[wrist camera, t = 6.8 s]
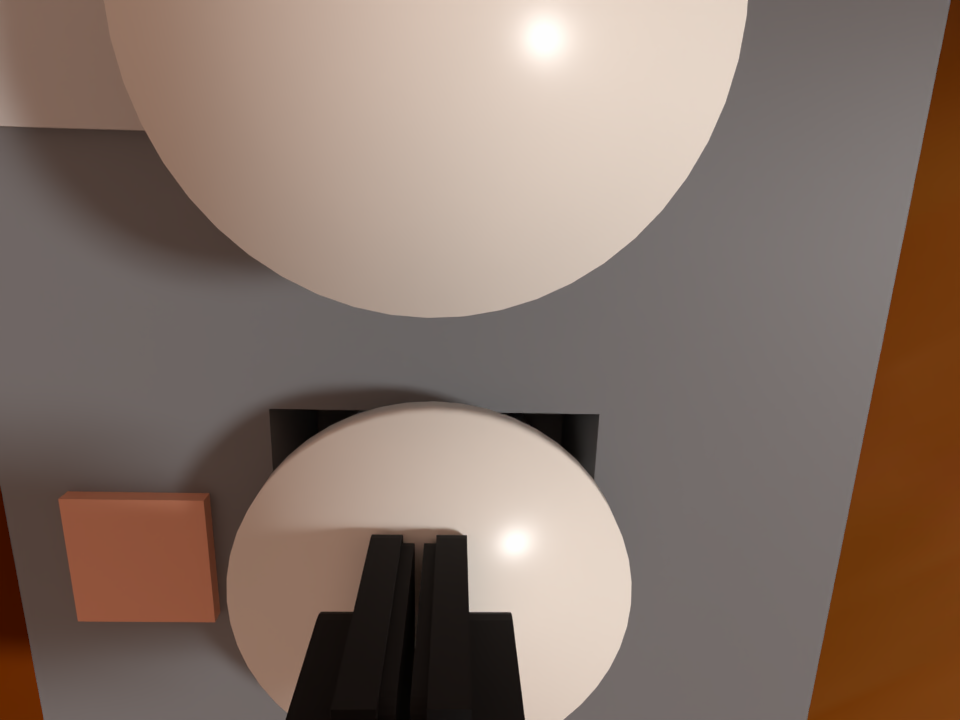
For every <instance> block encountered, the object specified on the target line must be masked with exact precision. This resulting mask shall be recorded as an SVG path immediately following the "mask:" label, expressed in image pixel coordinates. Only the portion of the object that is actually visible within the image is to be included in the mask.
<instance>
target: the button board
mask: <svg viewBox="0 0 960 720" xmlns="http://www.w3.org/2000/svg"><path fill="white" fill-rule="evenodd" d="M950 1H951V0H748V5H747V17H746V22H745V28H744V33H743V39H742V44H741V50H740V55H739V60H738V63H737V67H736V70H735V73H734V76H733V80H732V83H731V86H730V90H729V93H728V96H727V99H726V102H725V105H724V107H723V109H722V112H721V114H720V116H719V118H718V121H717V123H716V125H715V127H714V130H713V132H712V134H711V137H710V139H709V141H708V143H707V145H706V146H705V148H704V150H703V151H702V153H701V155H700V157H699V158H698V160H697V162H696V163H695V165H694V167H693V168H692V170H691V172H690V174H689V175H688V177H687V178H686V180H685V181H684V182H683V184H682V185H681V186H680V188H679V189H678V190H677V192H676V193H675V194H674V196H673V197H672V198H671V199H670V201H669V202H668V203H667V205H666V206H665V207H664V209H663V210H662V211H661V212H660V213H659V214H658V215H657V216H656V217H655V218H654V219H653V220H652V221H651V222H650V223H649V224H648V225H647V227H646V228H645V229H644V230H643V231H642V232H641V233H640V234H639V235H638V236H637V237H636V238H635V239H634V240H632V241H631V242H630V243H629V244H628V245H626V246H625V247H624V248H623V249H621V250H620V251H619V252H618V253H616V254H615V255H614V256H613V257H611V258H610V259H609V260H608V261H606V262H605V263H604V264H602V265H601V266H599V267H597V268H596V269H594V270H592V271H591V272H589V273H588V274H586V275H584V276H583V277H581V278H579V279H578V280H576V281H575V282H573V283H571V284H569V285H567V286H565V287H563V288H560V289H558V290H556V291H554V292H551V293H549V294H547V295H545V296H543V297H540V298H538V299H536V300H532V301H529V302H526V303H523V304H519V305H516V306H513V307H510V308H506V309H503V310H499V311H493V312H487V313H481V314H476V315H470V316H462V317H438V318H422V317H411V316H399V315H389V314H384V313H380V312H375V311H370V310H366V309H361V308H357V307H352V306H350V305H347V304H344V303H341V302H338V301H335V300H332V299H330V298H327V297H324V296H321V295H318V294H316V293H314V292H312V291H310V290H308V289H306V288H304V287H302V286H300V285H298V284H296V283H294V282H292V281H290V280H288V279H286V278H284V277H282V276H280V275H279V274H277V273H276V272H274V271H273V270H271V269H270V268H268V267H267V266H265V265H264V264H262V263H261V262H259V261H257V260H256V259H254V258H253V257H251V256H250V255H248V254H247V253H246V252H245V251H244V250H243V249H241V248H240V247H239V246H238V245H237V244H235V243H234V242H233V241H232V240H231V239H230V238H228V237H227V236H226V235H225V234H224V233H222V232H221V231H220V230H219V229H218V228H217V227H216V226H215V225H214V224H213V223H212V222H211V221H210V220H209V219H208V218H207V217H206V215H205V214H204V213H203V212H202V211H201V210H200V209H199V208H198V207H197V206H196V205H195V204H194V203H193V202H192V200H191V199H190V198H189V197H188V196H187V194H186V193H185V192H184V190H183V189H182V188H181V186H180V185H179V184H178V182H177V181H176V179H175V178H174V177H173V175H172V174H171V173H170V171H169V170H168V169H167V167H166V166H165V165H164V163H163V161H162V160H161V158H160V156H159V154H158V153H157V151H156V149H155V147H154V146H153V144H152V142H151V140H150V139H149V137H148V135H147V133H146V132H145V130H144V128H143V126H142V125H141V122H140V120H139V118H138V115H137V113H136V111H135V108H134V106H133V104H132V101H131V99H130V97H129V94H128V92H127V90H126V87H125V85H124V83H123V79H122V76H121V73H120V69H119V66H118V63H117V59H116V56H115V52H114V49H113V46H112V42H111V39H110V34H109V28H108V22H107V17H106V11H105V5H104V0H0V486H1V492H2V497H3V502H4V508H5V513H6V518H7V524H8V529H9V535H10V540H11V545H12V551H13V556H14V561H15V567H16V572H17V578H18V583H19V588H20V594H21V599H22V604H23V610H24V615H25V621H26V626H27V631H28V637H29V642H30V647H31V653H32V658H33V664H34V669H35V674H36V680H37V685H38V690H39V696H40V701H41V707H42V712H43V717H44V720H285V719H286V716H287V712H286V711H284V710H283V709H282V708H281V707H280V706H279V705H278V704H276V703H275V701H274V700H273V699H272V698H271V697H270V696H269V695H268V694H267V692H266V691H265V690H264V689H263V688H262V687H261V686H260V684H259V683H258V681H257V680H256V678H255V677H254V675H253V674H252V672H251V671H250V669H249V668H248V666H247V664H246V662H245V660H244V658H243V656H242V654H241V652H240V650H239V648H238V646H237V643H236V640H235V636H234V633H233V630H232V627H231V624H230V618H229V612H228V606H227V572H228V565H229V558H230V553H231V550H232V547H233V544H234V540H235V537H236V534H237V531H238V529H239V527H240V525H241V523H242V521H243V519H244V517H245V515H246V513H247V511H248V509H249V507H250V506H251V504H252V502H253V501H254V499H255V498H256V496H257V494H258V493H259V491H260V490H261V488H262V487H263V485H264V484H265V483H266V481H267V480H268V478H269V477H270V475H271V474H272V473H273V471H274V470H275V469H276V468H277V467H278V466H279V465H280V464H281V463H282V462H283V461H284V460H285V458H286V457H287V456H288V455H289V454H291V453H292V452H293V451H294V450H295V449H297V448H298V447H299V446H300V445H302V444H303V443H304V442H305V441H306V440H308V439H309V438H311V437H312V436H314V435H316V434H317V433H319V432H320V431H322V430H324V429H325V428H327V427H329V426H330V425H333V424H335V423H337V422H339V421H341V420H344V419H346V418H348V417H350V416H353V415H355V414H357V413H358V411H359V410H372V409H375V408H378V407H383V406H389V405H395V404H401V403H407V402H429V401H437V402H449V403H462V404H466V405H471V406H476V407H481V408H486V409H490V410H493V411H495V412H498V413H522V414H523V415H524V417H525V418H526V420H527V421H528V423H529V425H530V426H531V427H534V428H536V429H537V430H539V431H540V432H542V433H543V434H545V435H546V436H548V437H549V438H551V439H552V440H554V441H555V442H557V443H558V444H559V445H561V446H562V447H563V448H564V449H565V450H566V451H567V452H569V453H570V454H571V455H572V456H573V457H574V458H575V459H577V461H578V462H579V463H580V464H581V465H582V466H583V468H584V469H585V470H586V471H587V472H588V473H589V474H590V476H591V477H592V478H593V479H594V481H595V483H596V484H597V486H598V487H599V489H600V490H601V492H602V494H603V495H604V497H605V498H606V501H607V503H608V505H609V507H610V509H611V512H612V514H613V516H614V518H615V521H616V523H617V525H618V528H619V530H620V532H621V535H622V537H623V540H624V544H625V548H626V551H627V555H628V558H629V565H630V573H631V581H632V584H631V607H630V613H629V618H628V624H627V628H626V631H625V634H624V637H623V640H622V643H621V646H620V649H619V651H618V653H617V655H616V657H615V659H614V661H613V663H612V665H611V667H610V668H609V670H608V671H607V673H606V674H605V676H604V677H603V679H602V680H601V682H600V683H599V685H598V686H597V687H596V688H595V690H594V691H593V692H592V693H591V694H590V695H589V696H588V697H587V698H586V700H585V701H584V702H583V703H582V704H581V705H580V706H579V707H578V708H576V709H575V710H574V711H573V712H572V713H571V714H569V715H568V716H567V717H566V718H565V719H564V720H807V717H808V712H809V707H810V702H811V697H812V692H813V687H814V682H815V677H816V672H817V667H818V662H819V657H820V652H821V647H822V642H823V637H824V632H825V627H826V622H827V617H828V611H829V606H830V601H831V596H832V591H833V586H834V581H835V576H836V571H837V566H838V561H839V556H840V551H841V546H842V541H843V536H844V531H845V526H846V521H847V516H848V511H849V506H850V501H851V496H852V491H853V486H854V481H855V476H856V471H857V466H858V461H859V456H860V451H861V446H862V441H863V436H864V431H865V426H866V421H867V416H868V411H869V406H870V401H871V396H872V391H873V386H874V381H875V376H876V371H877V366H878V361H879V356H880V351H881V346H882V341H883V336H884V331H885V326H886V321H887V316H888V311H889V306H890V301H891V296H892V291H893V286H894V281H895V276H896V271H897V266H898V261H899V256H900V251H901V246H902V241H903V236H904V231H905V226H906V221H907V216H908V211H909V206H910V201H911V196H912V191H913V186H914V181H915V176H916V171H917V166H918V161H919V156H920V151H921V146H922V141H923V136H924V131H925V126H926V121H927V116H928V111H929V106H930V101H931V96H932V91H933V86H934V81H935V76H936V71H937V66H938V61H939V56H940V51H941V46H942V41H943V36H944V31H945V26H946V21H947V16H948V11H949V6H950Z"/></svg>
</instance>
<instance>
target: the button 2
mask: <svg viewBox="0 0 960 720" xmlns="http://www.w3.org/2000/svg"><path fill="white" fill-rule="evenodd" d="M372 534H386V535H403V543H414V544H415V641H416V630H417V618H418V607H419V595H420V584H421V572H422V561H423V550H424V543H436V535H467V555H468V592H469V612H511V614H512V619H513V626H514V634H515V642H516V650H517V658H518V667H519V675H520V683H521V691H522V699H523V707H524V715H525V720H564V719H565V718H566V717H567V716H568V715H569V714H571V713H572V712H573V711H574V710H575V709H576V708H578V707H579V706H580V705H581V704H582V703H583V702H584V701H585V700H586V698H587V697H588V696H589V695H590V694H591V693H592V692H593V691H594V690H595V688H596V687H597V686H598V685H599V683H600V682H601V680H602V679H603V677H604V676H605V674H606V673H607V671H608V670H609V668H610V667H611V665H612V663H613V661H614V659H615V657H616V655H617V653H618V651H619V649H620V646H621V643H622V640H623V637H624V634H625V631H626V628H627V624H628V618H629V613H630V607H631V584H632V581H631V573H630V565H629V558H628V555H627V551H626V548H625V544H624V540H623V537H622V535H621V532H620V530H619V528H618V525H617V523H616V521H615V518H614V516H613V514H612V512H611V509H610V507H609V505H608V503H607V501H606V498H605V497H604V495H603V494H602V492H601V490H600V489H599V487H598V486H597V484H596V483H595V481H594V479H593V478H592V477H591V476H590V474H589V473H588V472H587V471H586V470H585V469H584V468H583V466H582V465H581V464H580V463H579V462H578V461H577V459H575V458H574V457H573V456H572V455H571V454H570V453H569V452H567V451H566V450H565V449H564V448H563V447H562V446H561V445H559V444H558V443H557V442H555V441H554V440H552V439H551V438H549V437H548V436H546V435H545V434H543V433H542V432H540V431H539V430H537V429H536V428H534V427H531V426H530V425H529V423H528V421H527V420H526V418H525V417H524V415H523V414H522V413H498V412H495V411H493V410H490V409H486V408H481V407H476V406H471V405H466V404H462V403H449V402H437V401H429V402H407V403H401V404H395V405H389V406H383V407H378V408H375V409H372V410H359V411H358V413H357V414H355V415H353V416H350V417H348V418H346V419H344V420H341V421H339V422H337V423H335V424H333V425H330V426H329V427H327V428H325V429H324V430H322V431H320V432H319V433H317V434H316V435H314V436H312V437H311V438H309V439H308V440H306V441H305V442H304V443H303V444H302V445H300V446H299V447H298V448H297V449H295V450H294V451H293V452H292V453H291V454H289V455H288V456H287V457H286V458H285V460H284V461H283V462H282V463H281V464H280V465H279V466H278V467H277V468H276V469H275V470H274V471H273V473H272V474H271V475H270V477H269V478H268V480H267V481H266V483H265V484H264V485H263V487H262V488H261V490H260V491H259V493H258V494H257V496H256V498H255V499H254V501H253V502H252V504H251V506H250V507H249V509H248V511H247V513H246V515H245V517H244V519H243V521H242V523H241V525H240V527H239V529H238V531H237V534H236V537H235V540H234V544H233V547H232V550H231V553H230V558H229V565H228V572H227V606H228V612H229V618H230V624H231V627H232V630H233V633H234V636H235V640H236V643H237V646H238V648H239V650H240V652H241V654H242V656H243V658H244V660H245V662H246V664H247V666H248V668H249V669H250V671H251V672H252V674H253V675H254V677H255V678H256V680H257V681H258V683H259V684H260V686H261V687H262V688H263V689H264V690H265V691H266V692H267V694H268V695H269V696H270V697H271V698H272V699H273V700H274V701H275V703H276V704H278V705H279V706H280V707H281V708H282V709H283V710H284V711H286V712H287V713H288V710H289V706H290V703H291V700H292V697H293V694H294V690H295V687H296V684H297V681H298V677H299V674H300V671H301V668H302V665H303V661H304V658H305V655H306V652H307V648H308V645H309V642H310V639H311V636H312V632H313V629H314V626H315V623H316V620H317V617H318V615H319V613H320V612H353V611H354V606H355V602H356V598H357V593H358V589H359V585H360V581H361V576H362V572H363V568H364V563H365V559H366V555H367V551H368V546H369V542H370V538H371V535H372Z"/></svg>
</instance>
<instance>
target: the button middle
mask: <svg viewBox="0 0 960 720" xmlns="http://www.w3.org/2000/svg"><path fill="white" fill-rule="evenodd" d="M104 5H105V11H106V17H107V22H108V28H109V34H110V39H111V42H112V46H113V49H114V52H115V56H116V59H117V63H118V66H119V69H120V73H121V76H122V79H123V83H124V85H125V87H126V90H127V92H128V94H129V97H130V99H131V101H132V104H133V106H134V108H135V111H136V113H137V115H138V118H139V120H140V122H141V125H142V126H143V128H144V130H145V132H146V133H147V135H148V137H149V139H150V140H151V142H152V144H153V146H154V147H155V149H156V151H157V153H158V154H159V156H160V158H161V160H162V161H163V163H164V165H165V166H166V167H167V169H168V170H169V171H170V173H171V174H172V175H173V177H174V178H175V179H176V181H177V182H178V184H179V185H180V186H181V188H182V189H183V190H184V192H185V193H186V194H187V196H188V197H189V198H190V199H191V200H192V202H193V203H194V204H195V205H196V206H197V207H198V208H199V209H200V210H201V211H202V212H203V213H204V214H205V215H206V217H207V218H208V219H209V220H210V221H211V222H212V223H213V224H214V225H215V226H216V227H217V228H218V229H219V230H220V231H221V232H222V233H224V234H225V235H226V236H227V237H228V238H230V239H231V240H232V241H233V242H234V243H235V244H237V245H238V246H239V247H240V248H241V249H243V250H244V251H245V252H246V253H247V254H248V255H250V256H251V257H253V258H254V259H256V260H257V261H259V262H261V263H262V264H264V265H265V266H267V267H268V268H270V269H271V270H273V271H274V272H276V273H277V274H279V275H280V276H282V277H284V278H286V279H288V280H290V281H292V282H294V283H296V284H298V285H300V286H302V287H304V288H306V289H308V290H310V291H312V292H314V293H316V294H318V295H321V296H324V297H327V298H330V299H332V300H335V301H338V302H341V303H344V304H347V305H350V306H352V307H357V308H361V309H366V310H370V311H375V312H380V313H384V314H389V315H399V316H411V317H422V318H438V317H462V316H470V315H476V314H481V313H487V312H493V311H499V310H503V309H506V308H510V307H513V306H516V305H519V304H523V303H526V302H529V301H532V300H536V299H538V298H540V297H543V296H545V295H547V294H549V293H551V292H554V291H556V290H558V289H560V288H563V287H565V286H567V285H569V284H571V283H573V282H575V281H576V280H578V279H579V278H581V277H583V276H584V275H586V274H588V273H589V272H591V271H592V270H594V269H596V268H597V267H599V266H601V265H602V264H604V263H605V262H606V261H608V260H609V259H610V258H611V257H613V256H614V255H615V254H616V253H618V252H619V251H620V250H621V249H623V248H624V247H625V246H626V245H628V244H629V243H630V242H631V241H632V240H634V239H635V238H636V237H637V236H638V235H639V234H640V233H641V232H642V231H643V230H644V229H645V228H646V227H647V225H648V224H649V223H650V222H651V221H652V220H653V219H654V218H655V217H656V216H657V215H658V214H659V213H660V212H661V211H662V210H663V209H664V207H665V206H666V205H667V203H668V202H669V201H670V199H671V198H672V197H673V196H674V194H675V193H676V192H677V190H678V189H679V188H680V186H681V185H682V184H683V182H684V181H685V180H686V178H687V177H688V175H689V174H690V172H691V170H692V168H693V167H694V165H695V163H696V162H697V160H698V158H699V157H700V155H701V153H702V151H703V150H704V148H705V146H706V145H707V143H708V141H709V139H710V137H711V134H712V132H713V130H714V127H715V125H716V123H717V121H718V118H719V116H720V114H721V112H722V109H723V107H724V105H725V102H726V99H727V96H728V93H729V90H730V86H731V83H732V80H733V76H734V73H735V70H736V67H737V63H738V60H739V55H740V50H741V44H742V39H743V33H744V28H745V22H746V17H747V5H748V0H104Z"/></svg>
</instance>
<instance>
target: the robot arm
mask: <svg viewBox="0 0 960 720" xmlns="http://www.w3.org/2000/svg"><path fill="white" fill-rule="evenodd" d="M285 720H525V715H524V707H523V699H522V691H521V683H520V675H519V667H518V658H517V650H516V642H515V634H514V626H513V619H512V614H511V612H469V592H468V555H467V535H436V543H424V550H423V561H422V572H421V584H420V595H419V607H418V618H417V630H416V641H415V544H414V543H403V535H386V534H372V535H371V538H370V542H369V546H368V551H367V555H366V559H365V563H364V568H363V572H362V576H361V581H360V585H359V589H358V593H357V598H356V602H355V606H354V611H353V612H320V613H319V615H318V617H317V620H316V623H315V626H314V629H313V632H312V636H311V639H310V642H309V645H308V648H307V652H306V655H305V658H304V661H303V665H302V668H301V671H300V674H299V677H298V681H297V684H296V687H295V690H294V694H293V697H292V700H291V703H290V706H289V710H288V713H287V716H286V719H285Z"/></svg>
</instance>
